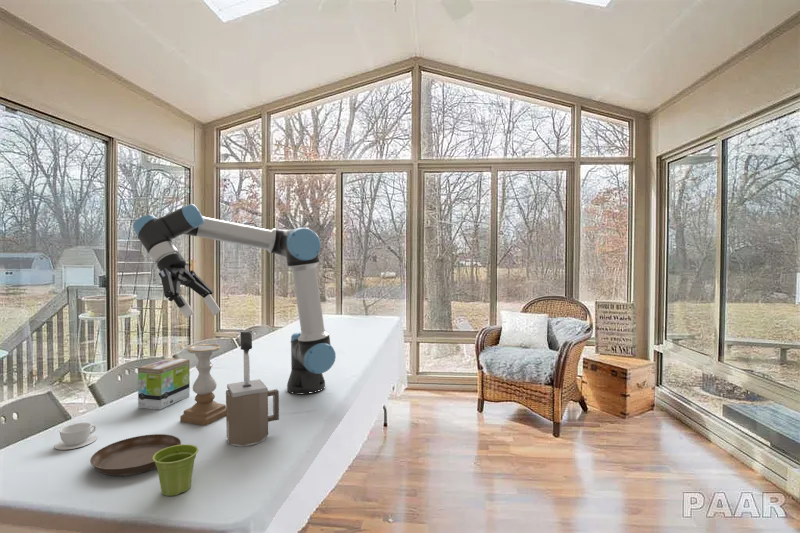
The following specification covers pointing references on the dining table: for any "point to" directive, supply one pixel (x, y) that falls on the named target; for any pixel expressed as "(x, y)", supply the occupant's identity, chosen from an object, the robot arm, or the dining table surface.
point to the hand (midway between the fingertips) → (204, 314)
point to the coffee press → (249, 412)
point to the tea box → (163, 383)
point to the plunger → (246, 354)
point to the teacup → (76, 436)
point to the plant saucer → (131, 454)
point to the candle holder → (204, 389)
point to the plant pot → (175, 468)
